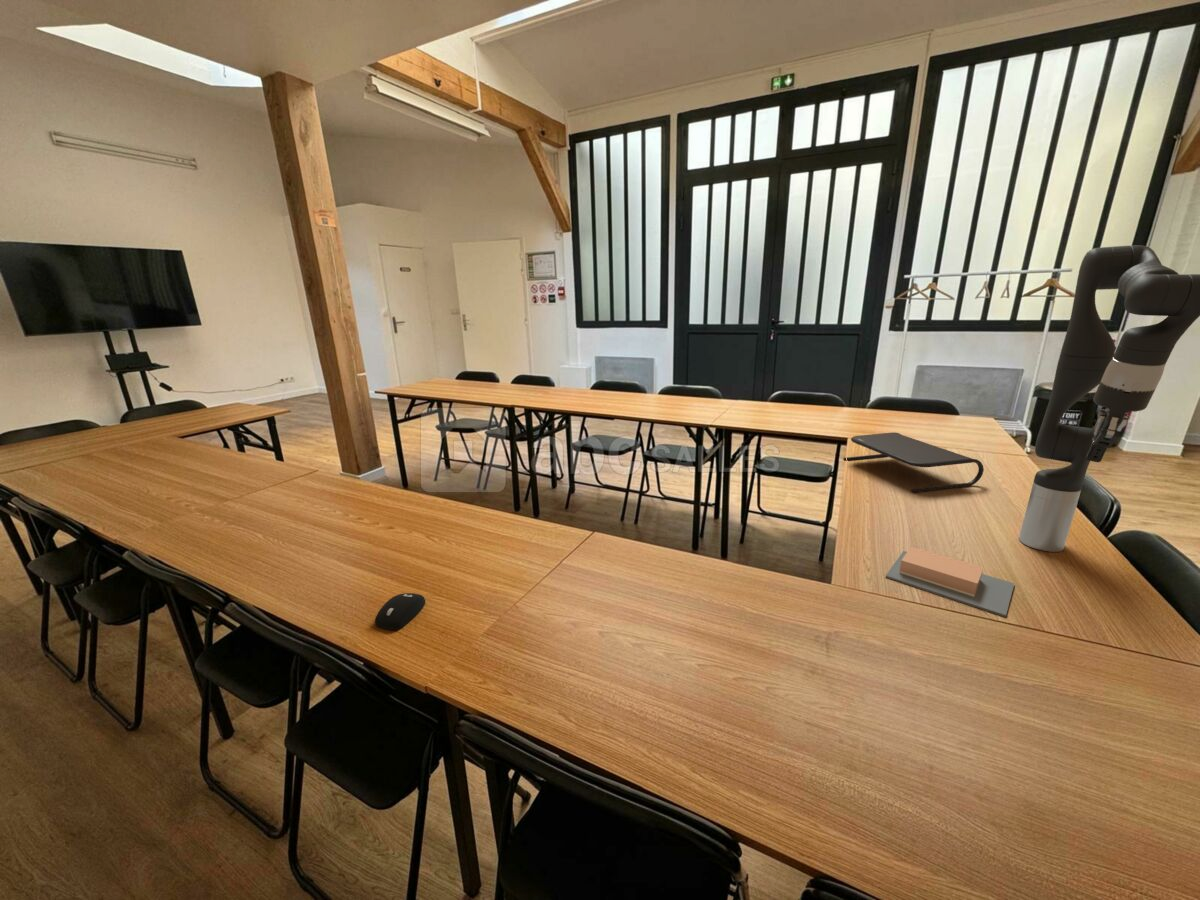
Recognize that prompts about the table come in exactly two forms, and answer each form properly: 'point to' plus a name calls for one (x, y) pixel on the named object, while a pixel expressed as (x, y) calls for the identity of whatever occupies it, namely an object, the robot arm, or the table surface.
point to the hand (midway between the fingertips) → (1092, 459)
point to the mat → (987, 597)
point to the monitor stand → (914, 455)
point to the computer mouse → (399, 611)
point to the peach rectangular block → (942, 570)
